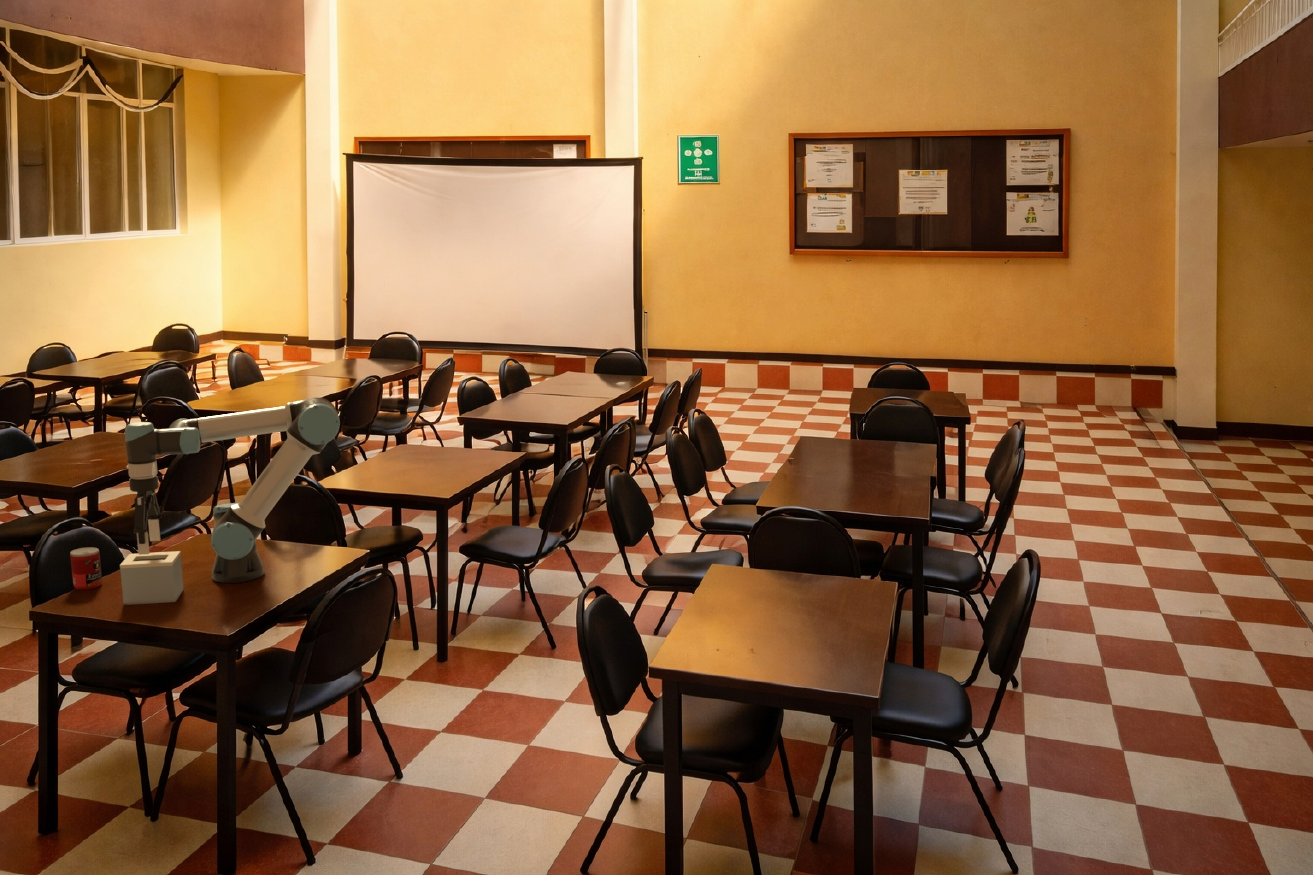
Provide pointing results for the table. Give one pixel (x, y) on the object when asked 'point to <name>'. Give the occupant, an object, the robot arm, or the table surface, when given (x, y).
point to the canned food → (86, 568)
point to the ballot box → (151, 578)
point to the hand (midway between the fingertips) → (149, 547)
